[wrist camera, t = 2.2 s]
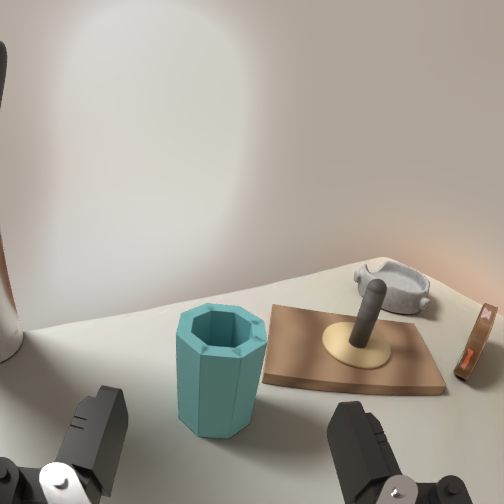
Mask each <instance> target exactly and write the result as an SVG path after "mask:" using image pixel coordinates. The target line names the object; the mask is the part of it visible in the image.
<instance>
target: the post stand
mask: <svg viewBox="0 0 504 504" xmlns="http://www.w3.org/2000/svg"><path fill="white" fill-rule="evenodd" d="M386 293H387V286H386V283H385V282H384V281H383V280H381V279H373V280H371V281H370V282H369V283H368V285H367V288H366V291H365V294H364V297H363V300H362V303H361V306H360V309H359V312H358V315H357V317H355V316H348V315H340V314H333V313H326V312H319V311H313V310H306V309H300V308H293V307H287V306H281V305H275V304H273V306H272V312H271V319H270V327H269V335H268V343H267V350H266V358H265V366H264V373H263V380H262V383H267V384H273V385H280V386H288V387H295V388H303V389H312V390H322V391H332V392H344V393H358V394H378V395H441V393H442V392H443V390H444V389H445V387H446V385H445V383H444V381H443V378H442V376H441V374H440V372H439V370H438V368H437V366H436V364H435V362H434V360H433V358H432V356H431V354H430V353H429V351H428V349H427V347H426V345H425V343H424V341H423V339H422V337H421V336H420V334H419V332H418V330H417V328H416V326H415V325H414V324H413V323H404V322H395V321H387V320H378V319H377V318H378V315H379V312H380V310H381V307H382V304H383V301H384V298H385V295H386Z"/></svg>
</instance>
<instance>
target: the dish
mask: <svg viewBox="0 0 504 504" xmlns="http://www.w3.org/2000/svg"><path fill="white" fill-rule="evenodd" d="M373 279H381V280H383V281H384V282H385V283H386V286H387V293H386V295H385V298H384V301H383V304H382V307H381V308H382V309H385V310H388V311H391V312H395V313H402V314H414V313H417V312H419V311H420V310H424V309H426V308H427V307H428V305H429V303H430V299H427V296H428V292H429V287H430V282H429V280H428V279H427V278H426V277H425V276H424V275H423V274H422V273H421V272H419V271H418V270H416V269H414V268H412V267H409V266H407V265H404V264H401V263H397V262H392V261H386V262H385V263H384V264H383V265H382V266H381V267H380V268H379V269H378V270H377V271H375V272H373V273H370V272H369V270H368V268H367V265H366V264H364V265H363V266H362V268H361V269H357V270H356V271H355V274H354V281H355V282H357V283H358V291H359V293H360V294H361V296H362V297H364V294H365V291H366V288H367V285H368V283H369V282H370V281H371V280H373Z"/></svg>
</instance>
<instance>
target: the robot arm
mask: <svg viewBox="0 0 504 504" xmlns="http://www.w3.org/2000/svg"><path fill="white" fill-rule="evenodd" d="M6 68H7V52H6V47H5V45H4V43H3V42H2V41H0V107H1V100H2V95H3V89H4V83H5V76H6ZM22 341H23V331H22V328H21V325H20V321H19V318H18V314H17V310H16V306H15V302H14V298H13V294H12V289H11V285H10V281H9V276H8V271H7V266H6V261H5V256H4V249H3V242H2V235H1V227H0V362H2V361H4V360H6V359H8V358H9V357H11V356H12V355H13V354H14V353H15V352H16V351H17V350H18V349H19V347H20V346H21V344H22ZM127 427H128V412H127V408H126V404H125V400H124V395H123V391H122V389H118V388H113V387H108V386H103V385H102V386H101V387H100V389H99V391H98V393H97V396H96V398H94V397H90V396H88V397H86V398H85V399H84V400H83V401H82V402H81V403H80V404H79V405H78V407H77V410H76V412H75V414H74V418H73V419H72V421H71V424H70V426H69V429H68V431H67V433H66V436H65V438H64V441H63V443H62V446H61V448H60V451H59V453H58V456H57V458H56V460H55V461H54V462H53V463H51V464H48V465H47V466H45V467H44V468H40V469H36V468H25V467H17V466H16V465H15V464H14V463H13V462H12V461H11V460H10V459H8V458H5V457H0V504H99V503H100V498H101V495H103V496H107V497H110V496H111V491H112V487H113V482H114V478H115V474H116V470H117V466H118V462H119V458H120V454H121V450H122V446H123V442H124V438H125V435H126V431H127ZM327 439H328V443H329V446H330V450H331V453H332V457H333V461H334V464H335V468H336V471H337V475H338V479H339V482H340V486H341V490H342V494H343V497H344V501H345V504H473V503H472V501H471V498H470V496H469V494H468V491H467V489H466V486H465V484H464V482H463V481H462V480H461V479H460V478H459V477H457V476H453V475H448V476H445V477H443V478H442V479H441V480H440V481H439V482H437V483H416V482H415V481H414V480H413V479H411V478H410V477H408V476H405V475H403V474H402V473H401V471H400V468H399V466H398V463H397V461H396V459H395V456H394V454H393V452H392V449H391V447H390V445H389V442H387V438H386V435H385V434H384V431H383V428H382V426H381V424H380V422H379V421H378V419H377V418H376V417H375V416H374V415H373V414H372V413H365V411H364V409H363V407H362V404H361V403H360V402H359V401H352V402H340V403H339V404H338V406H337V408H336V410H335V412H334V414H333V416H332V418H331V420H330V422H329V424H328V428H327Z"/></svg>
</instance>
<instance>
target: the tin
mask: <svg viewBox="0 0 504 504" xmlns="http://www.w3.org/2000/svg"><path fill="white" fill-rule="evenodd" d="M497 309H498V307H494V306H492V305H489V304H486V303H485V304H484V305H483V307H482V309H481V311H480V314H479V316H478V318H477V321H476V323H475V325H474V328H473V330H472V332H471V335H470V337H469V339H468V342H467V344H466V347H465V350H464V352H463V354H462V356H461V358H460V360H459V362H458V364H457V366H456V367H455V369H454V373H455V374H456V375H458V376H460V377H462V378H464V379H466V381H467V380H468V378H469V377H470V375H471V373H472V371H473V370H474V368H475V366H476V364H477V362H478V360H479V358H480V355H481V353H482V351H483V349H484V347H485V344H486V342H487V340H488V337H489V334H490V332H491V329H492V326H493V323H494V320H495V316H496V313H497Z"/></svg>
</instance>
